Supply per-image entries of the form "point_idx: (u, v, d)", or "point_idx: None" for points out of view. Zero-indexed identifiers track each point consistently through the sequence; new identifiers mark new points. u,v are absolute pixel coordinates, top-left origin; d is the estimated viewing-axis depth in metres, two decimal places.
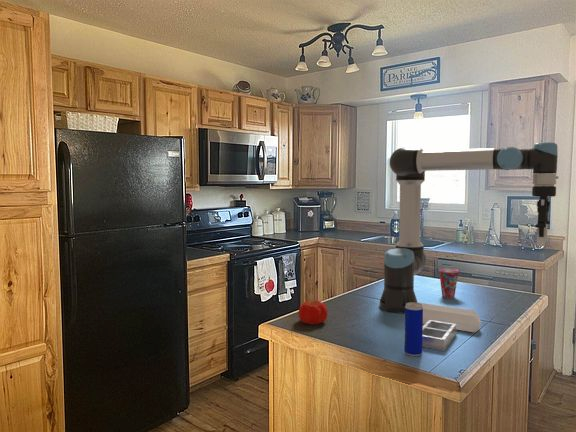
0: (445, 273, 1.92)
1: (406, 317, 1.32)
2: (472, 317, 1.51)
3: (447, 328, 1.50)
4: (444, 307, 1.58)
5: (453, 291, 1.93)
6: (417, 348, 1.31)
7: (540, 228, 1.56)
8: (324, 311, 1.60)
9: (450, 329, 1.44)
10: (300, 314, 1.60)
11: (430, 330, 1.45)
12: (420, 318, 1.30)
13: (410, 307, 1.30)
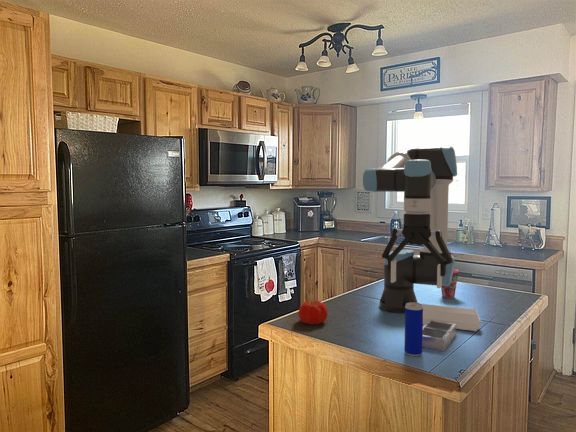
0: None
1: (406, 317, 1.32)
2: (473, 316, 1.53)
3: (447, 328, 1.50)
4: (444, 307, 1.58)
5: (453, 291, 1.93)
6: (417, 348, 1.31)
7: None
8: (324, 311, 1.60)
9: (450, 329, 1.44)
10: (300, 314, 1.60)
11: (430, 330, 1.45)
12: (420, 318, 1.30)
13: (410, 307, 1.30)
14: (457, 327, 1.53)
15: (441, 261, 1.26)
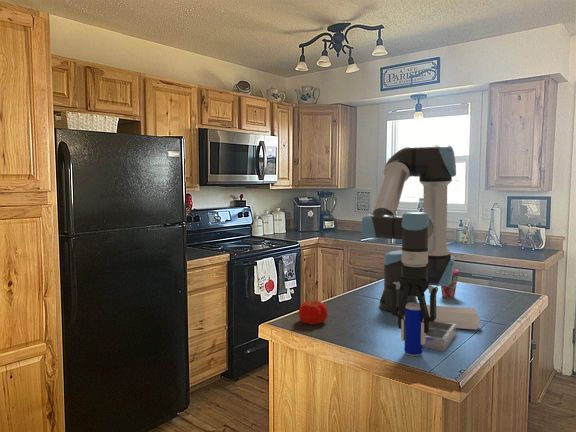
0: None
1: (406, 317, 1.32)
2: (474, 315, 1.54)
3: (447, 328, 1.50)
4: (444, 307, 1.58)
5: (453, 291, 1.93)
6: (417, 348, 1.31)
7: None
8: (324, 311, 1.60)
9: (450, 329, 1.44)
10: (300, 314, 1.60)
11: (430, 330, 1.45)
12: (420, 318, 1.30)
13: (410, 307, 1.30)
14: (459, 326, 1.54)
15: (425, 319, 1.29)
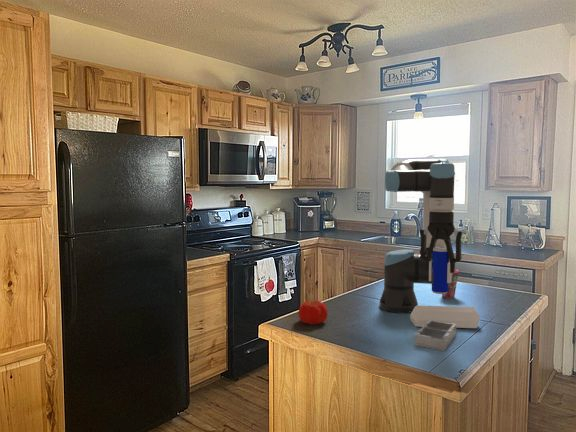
0: None
1: (433, 259, 1.45)
2: (474, 314, 1.55)
3: (447, 328, 1.50)
4: (445, 307, 1.58)
5: (453, 291, 1.93)
6: (443, 286, 1.44)
7: None
8: (324, 311, 1.60)
9: (450, 329, 1.44)
10: (300, 314, 1.60)
11: (430, 330, 1.45)
12: (446, 259, 1.44)
13: (437, 249, 1.44)
14: (460, 326, 1.54)
15: (451, 259, 1.43)
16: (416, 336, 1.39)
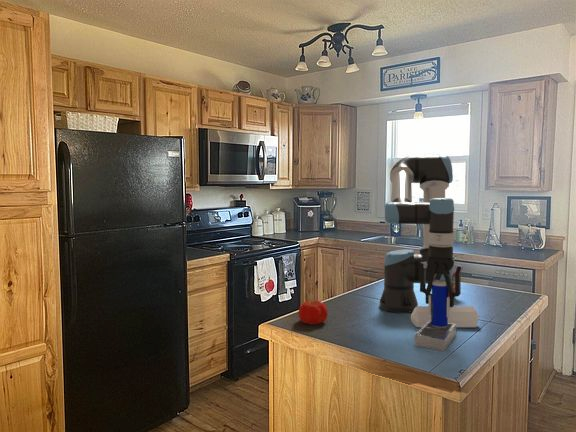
0: None
1: (433, 293, 1.46)
2: (473, 313, 1.56)
3: (447, 328, 1.50)
4: None
5: None
6: (443, 321, 1.45)
7: None
8: (324, 311, 1.60)
9: (450, 329, 1.44)
10: (300, 314, 1.60)
11: (430, 330, 1.45)
12: (446, 293, 1.44)
13: (437, 283, 1.44)
14: (460, 325, 1.55)
15: (451, 294, 1.44)
16: (416, 336, 1.39)
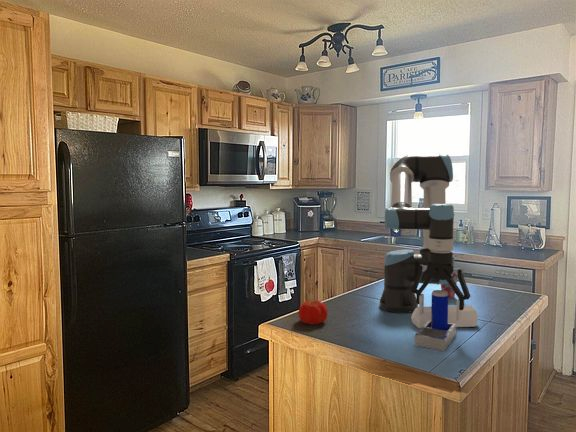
0: None
1: (433, 303, 1.46)
2: (473, 312, 1.57)
3: None
4: None
5: (453, 291, 1.93)
6: None
7: None
8: (324, 311, 1.60)
9: (450, 329, 1.44)
10: (300, 314, 1.60)
11: (430, 330, 1.45)
12: (446, 304, 1.45)
13: (437, 294, 1.45)
14: (461, 325, 1.55)
15: (460, 297, 1.42)
16: (416, 336, 1.39)
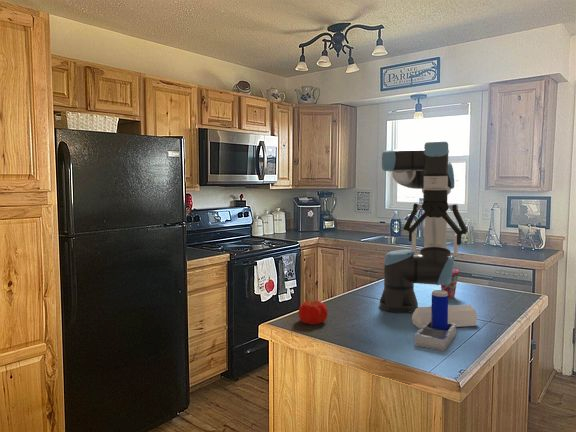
0: None
1: (433, 303, 1.46)
2: (472, 312, 1.58)
3: None
4: None
5: (453, 291, 1.93)
6: None
7: None
8: (324, 311, 1.60)
9: (450, 329, 1.44)
10: (300, 314, 1.60)
11: (430, 330, 1.45)
12: (446, 304, 1.45)
13: (437, 294, 1.45)
14: (461, 325, 1.56)
15: (457, 231, 1.43)
16: (416, 336, 1.39)
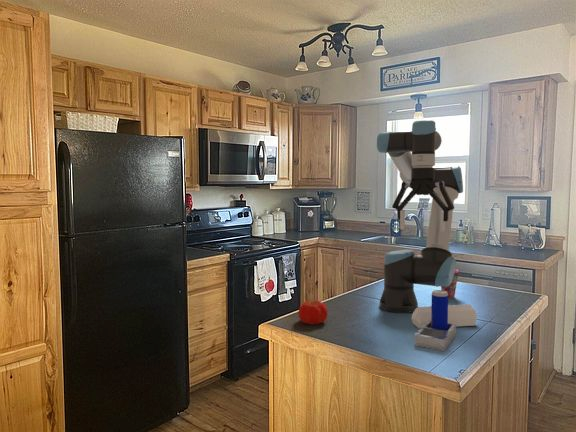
0: None
1: (433, 303, 1.46)
2: (472, 311, 1.58)
3: None
4: None
5: (453, 291, 1.93)
6: None
7: None
8: (324, 311, 1.60)
9: (450, 329, 1.44)
10: (300, 314, 1.60)
11: (430, 330, 1.45)
12: (446, 304, 1.45)
13: (437, 294, 1.45)
14: (461, 324, 1.56)
15: (444, 208, 1.46)
16: (416, 336, 1.39)
